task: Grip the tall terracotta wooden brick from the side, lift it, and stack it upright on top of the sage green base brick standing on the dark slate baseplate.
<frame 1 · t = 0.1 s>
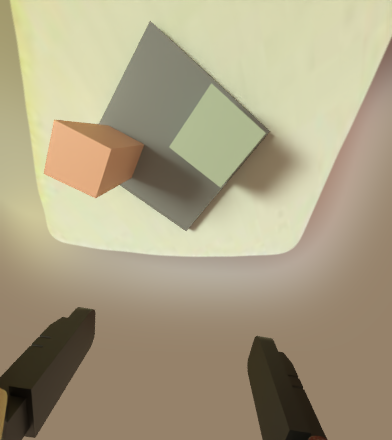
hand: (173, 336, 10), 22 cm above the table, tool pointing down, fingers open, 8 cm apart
bottom brick: (214, 139, 26), resting on baseplate
baseplate: (172, 145, 27), on the table
top brick: (120, 152, 27), point 1 cm above the table, touching baseplate
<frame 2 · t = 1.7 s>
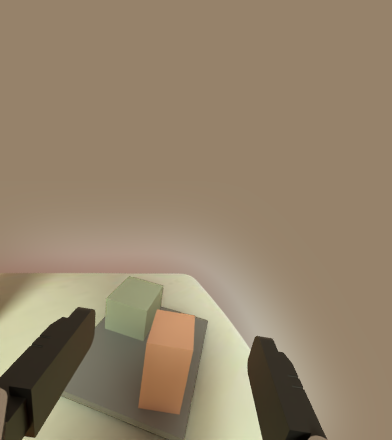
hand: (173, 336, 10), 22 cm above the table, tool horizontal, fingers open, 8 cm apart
bottom brick: (134, 319, 36), resting on baseplate
baseplate: (144, 349, 32), on the table
top brick: (162, 388, 26), point 1 cm above the table, touching baseplate
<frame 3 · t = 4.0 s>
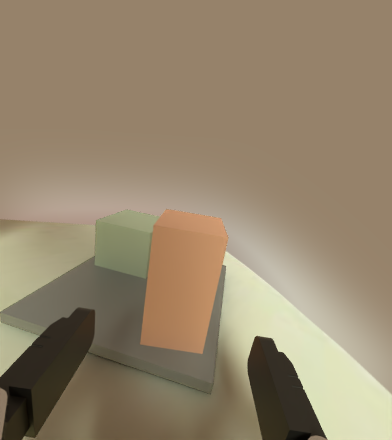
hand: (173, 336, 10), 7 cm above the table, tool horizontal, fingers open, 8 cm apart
bottom brick: (133, 259, 28), resting on baseplate
baseplate: (146, 289, 24), on the table
top brick: (175, 324, 18), point 1 cm above the table, touching baseplate
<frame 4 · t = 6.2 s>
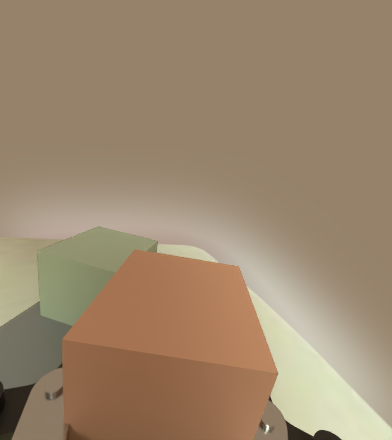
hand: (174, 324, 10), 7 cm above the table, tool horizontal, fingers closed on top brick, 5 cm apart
bottom brick: (104, 300, 19), resting on baseplate
baseplate: (116, 357, 15), on the table
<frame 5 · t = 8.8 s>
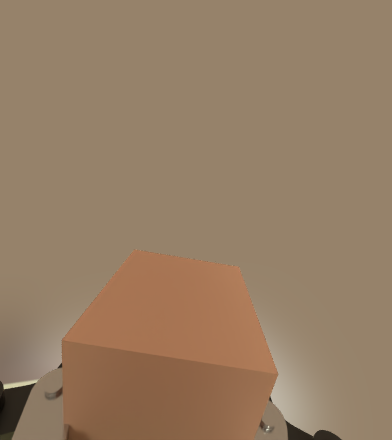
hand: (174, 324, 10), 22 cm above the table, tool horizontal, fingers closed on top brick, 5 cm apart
when the fingers open (14 cm above the table, at t = 11.4 s): top brick drops 1 cm, resting on bottom brick.
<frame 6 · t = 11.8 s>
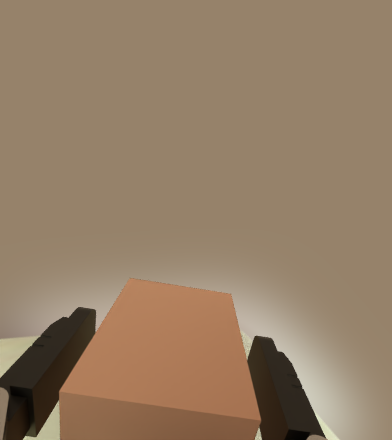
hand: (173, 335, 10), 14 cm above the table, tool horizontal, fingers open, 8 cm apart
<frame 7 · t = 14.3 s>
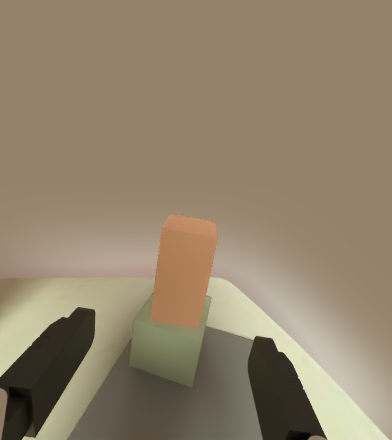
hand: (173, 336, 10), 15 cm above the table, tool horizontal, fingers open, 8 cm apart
bottom brick: (170, 348, 24), resting on baseplate
baseplate: (194, 401, 20), on the table
top brick: (177, 307, 22), point 7 cm above the table, touching bottom brick
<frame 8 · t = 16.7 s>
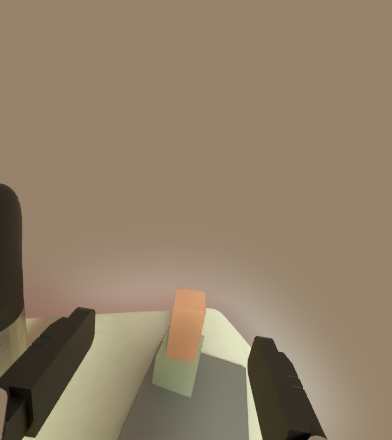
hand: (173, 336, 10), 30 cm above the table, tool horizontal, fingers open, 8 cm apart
bottom brick: (177, 370, 37), resting on baseplate
baseplate: (192, 406, 33), on the table
top brick: (181, 346, 35), point 7 cm above the table, touching bottom brick
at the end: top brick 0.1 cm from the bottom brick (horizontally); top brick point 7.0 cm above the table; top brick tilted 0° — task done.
